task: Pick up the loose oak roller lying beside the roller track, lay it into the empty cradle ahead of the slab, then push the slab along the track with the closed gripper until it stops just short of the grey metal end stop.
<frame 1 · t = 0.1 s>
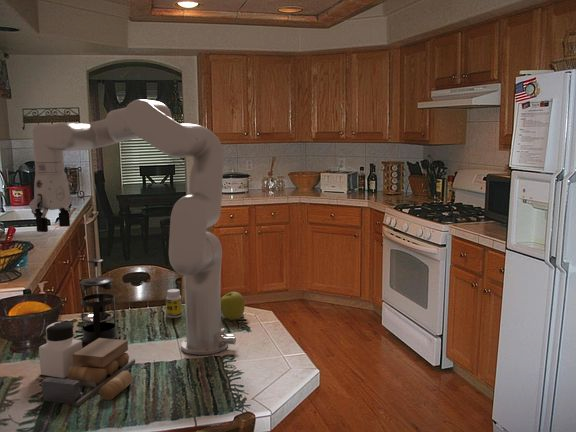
hand: (53, 228, 159), 31 cm above the table, tool pointing down, fingers open, 9 cm apart
end stop: (62, 400, 121), on the table
supplement bottle: (174, 316, 179), on the table
slab: (101, 352, 136), point 5 cm above the table, slide at 0.0 cm
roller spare: (117, 392, 125), on the table
apple: (232, 318, 176), on the table
french press: (100, 338, 160), on the table
medicine bottle: (62, 371, 137), on the table
track: (90, 380, 132), on the table
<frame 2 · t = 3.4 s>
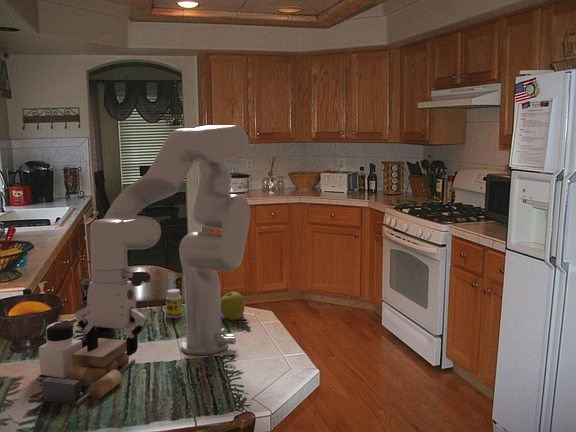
hand: (112, 351, 123), 10 cm above the table, tool pointing down, fingers open, 9 cm apart
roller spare: (112, 384, 125), point 2 cm above the table, tilted 96°
everything else where it was.
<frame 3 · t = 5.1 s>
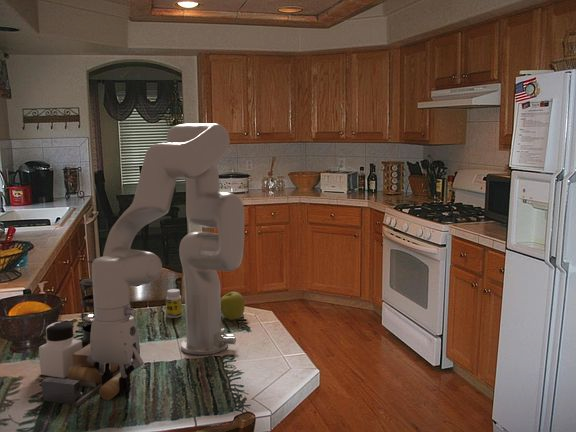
hand: (116, 390, 125), 0 cm above the table, tool pointing down, fingers closed on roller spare, 3 cm apart
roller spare: (116, 392, 125), on the table, touching gripper
everything else where it was.
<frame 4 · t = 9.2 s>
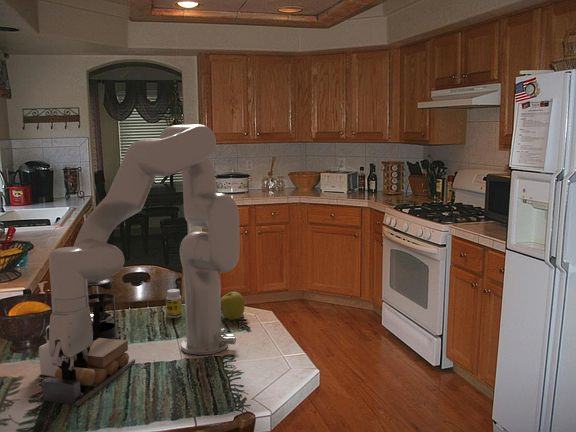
hand: (75, 381, 126), 2 cm above the table, tool pointing down, fingers closed on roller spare, 3 cm apart
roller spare: (76, 382, 126), point 2 cm above the table, touching gripper
everything else where it was.
when the fingers open (2 cm above the table, at t = 9.2 s): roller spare drops 2 cm, resting in track.
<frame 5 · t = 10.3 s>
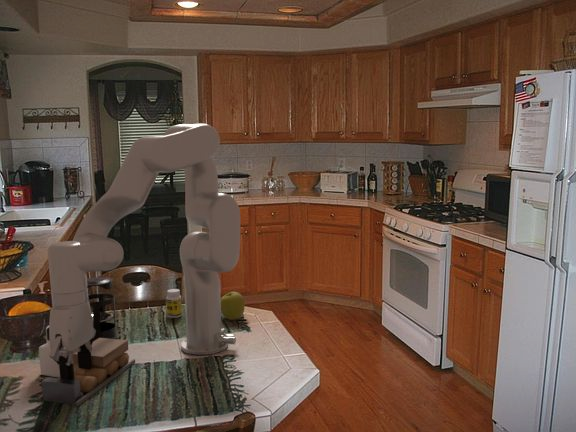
hand: (76, 373, 126), 4 cm above the table, tool pointing down, fingers open, 5 cm apart
slab: (101, 351, 136), point 5 cm above the table, slide at -0.2 cm, touching gripper
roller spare: (76, 391, 126), resting in track, tilted 15°
everything else where it was.
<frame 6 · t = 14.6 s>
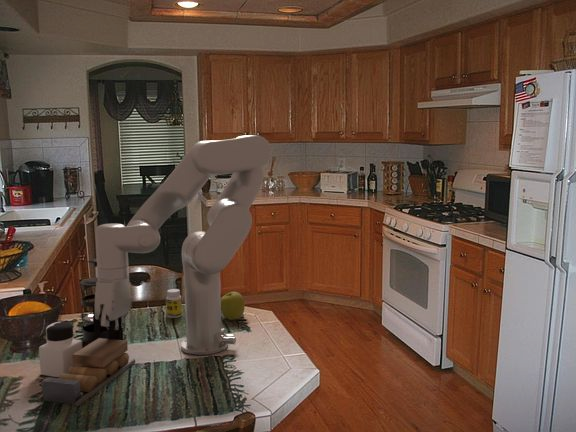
hand: (116, 343, 143), 5 cm above the table, tool pointing down, fingers closed
slab: (100, 352, 135), point 5 cm above the table, slide at 0.2 cm, touching gripper
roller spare: (76, 390, 126), resting in track, tilted 22°
everything else where it was.
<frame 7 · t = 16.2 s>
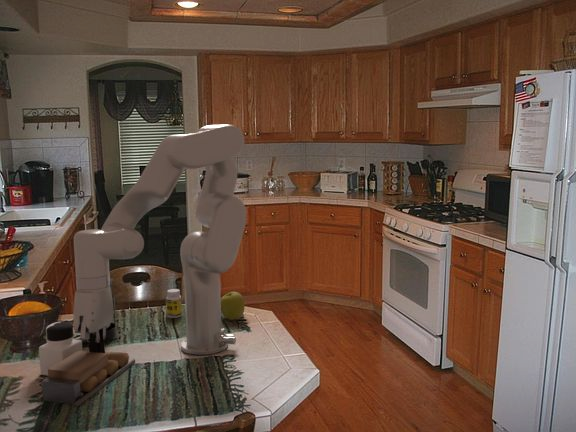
hand: (97, 356, 134), 5 cm above the table, tool pointing down, fingers closed
slab: (79, 366, 127), point 5 cm above the table, slide at 8.8 cm
everything else where it was.
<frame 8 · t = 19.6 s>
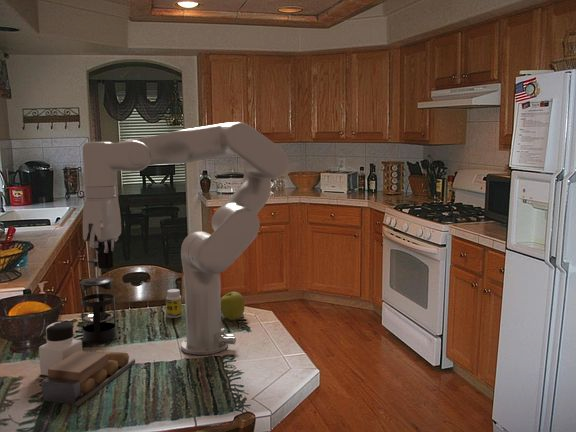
hand: (105, 267, 137), 25 cm above the table, tool pointing down, fingers closed
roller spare: (76, 391, 126), resting in track, tilted 14°
everything else where it was.
at the end: slab slide at 8.8 cm; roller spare inside the target area (0.1 cm from its centre), resting in track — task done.
